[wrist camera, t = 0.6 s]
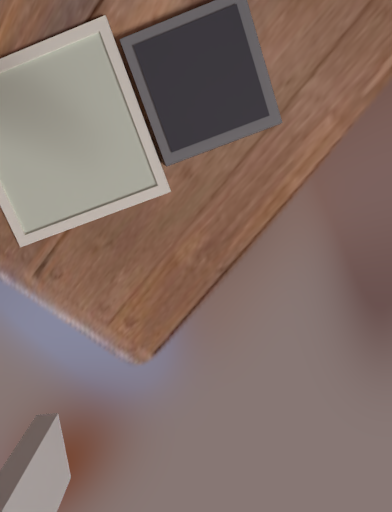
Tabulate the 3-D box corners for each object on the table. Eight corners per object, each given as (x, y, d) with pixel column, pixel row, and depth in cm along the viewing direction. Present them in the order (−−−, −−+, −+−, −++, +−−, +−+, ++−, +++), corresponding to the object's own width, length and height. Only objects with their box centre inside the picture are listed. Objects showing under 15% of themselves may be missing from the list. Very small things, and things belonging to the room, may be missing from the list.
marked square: (-55, 84, 34) (-59, 83, 33) (106, 17, 32) (105, 15, 32) (22, 246, 37) (20, 247, 37) (171, 191, 36) (170, 191, 36)
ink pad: (121, 43, 33) (119, 38, 32) (242, -6, 32) (243, -13, 31) (166, 166, 35) (165, 166, 34) (279, 124, 35) (282, 122, 33)
